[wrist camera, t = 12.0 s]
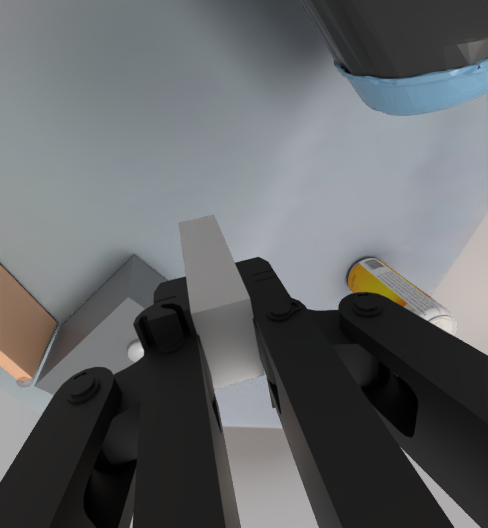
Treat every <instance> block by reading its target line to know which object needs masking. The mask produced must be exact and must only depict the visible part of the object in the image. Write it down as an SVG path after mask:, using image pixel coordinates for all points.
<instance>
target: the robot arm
mask: <svg viewBox="0 0 488 528" xmlns="http://www.w3.org/2000/svg"><path fill="white" fill-rule="evenodd" d="M300 2H301V4H302V5H303V7H304V9H305V11H306V12H307V14H308V16H309V17H310V19H311V21H312V22H313V24H314V26H315V28H316V29H317V31H318V33H319V34H320V36H321V38H322V39H323V41H324V43H325V45H326V46H327V48H328V50H329V51H330V53H331V55H332V56H333V58H334V65H335V67H336V68H337V70H338V71H339V72H340V73H341V74H342V75H343V76H345V77H346V78H347V79H348V80H349V82H350V83H351V85H352V86H353V88H354V89H355V91H356V92H357V94H358V95H359V97H360V98H361V99H362V101H363V102H364V103H365V104H366V105H367V106H368V107H370V108H371V109H373V110H376V111H381V112H383V113H386V114H388V115H396V116H409V115H419V114H425V113H430V112H435V111H439V110H442V109H446V108H449V107H453V106H456V105H459V104H461V103H464V102H467V101H469V100H472V99H474V98H477V97H479V96H481V95H483V94H486V93H488V0H300ZM179 228H180V236H181V243H182V251H183V258H184V266H185V273H186V277H182V278H178V279H174V280H170V281H166V282H162V283H160V284H159V285H158V287H157V288H156V290H155V291H154V300H153V302H154V303H153V305H151V306H149V307H148V308H146V309H145V310H143V311H142V312H141V313H140V314H139V315H138V316H137V317H136V318H135V321H134V323H133V326H134V328H135V331H136V333H137V335H138V338H139V340H140V343H141V345H142V347H143V350H144V356H143V357H142V358H140V359H139V360H138V361H137V362H135V363H134V364H132V365H130V366H129V367H127V368H125V369H123V370H121V371H119V372H117V373H116V374H114V375H113V373H112V371H111V370H109V369H107V368H106V367H93V368H89V369H85V370H83V371H81V372H79V373H77V374H75V375H73V376H72V377H71V378H69V379H68V380H67V381H65V382H64V383H63V384H62V385H61V387H60V388H59V389H58V390H57V392H56V393H55V395H54V396H53V398H52V399H51V401H50V403H49V404H48V406H47V408H46V409H45V411H44V412H43V414H42V416H41V417H40V419H39V420H38V422H37V424H36V425H35V427H34V429H33V430H32V432H31V433H30V435H29V437H28V438H27V440H26V442H25V443H24V445H23V447H22V448H21V450H20V451H19V453H18V455H17V456H16V458H15V460H14V461H13V463H12V464H11V466H10V468H9V469H8V471H7V472H6V474H5V476H4V477H3V479H2V480H1V482H0V528H129V527H130V523H131V520H132V516H133V528H241V525H240V520H239V515H238V510H237V505H236V498H235V493H234V488H233V482H232V477H231V472H230V466H229V461H228V455H227V450H226V445H225V440H224V434H223V429H222V423H221V418H220V412H219V407H218V403H217V400H216V397H215V393H214V390H215V389H219V388H222V387H225V386H229V385H232V384H236V383H239V382H242V381H246V380H249V379H252V378H256V377H259V376H262V375H265V374H264V370H265V373H266V376H267V381H268V386H269V391H270V397H271V402H272V407H273V408H275V407H276V410H277V413H278V416H279V418H280V421H281V424H282V427H283V429H284V432H285V435H286V437H287V440H288V443H289V446H290V448H291V451H292V454H293V457H294V460H295V462H296V465H297V468H298V471H299V474H300V476H301V479H302V482H303V485H304V488H305V490H306V493H307V496H308V499H309V501H310V504H311V507H312V510H313V512H314V515H315V518H316V521H317V524H318V526H319V528H454V526H453V525H452V524H451V522H450V520H449V519H448V517H447V516H446V514H445V513H444V511H443V510H442V509H441V507H440V506H439V504H438V503H437V501H436V500H435V498H434V497H433V495H432V494H431V492H430V491H429V489H428V488H427V486H426V485H425V483H424V482H423V480H422V479H421V477H420V476H419V474H418V473H417V471H416V470H415V468H414V467H413V465H412V464H411V463H410V461H409V460H408V458H407V457H406V455H405V454H404V452H403V451H402V449H403V450H404V451H405V452H406V453H407V454H408V455H409V456H410V457H411V458H412V459H413V460H414V461H415V462H416V463H417V464H418V465H419V466H420V467H421V468H422V469H423V470H424V471H425V472H426V473H427V474H428V475H429V476H430V477H431V478H432V479H433V480H434V481H435V482H436V483H437V484H438V485H439V486H440V487H441V488H442V489H443V490H444V491H445V492H446V493H447V494H448V495H449V496H450V497H451V498H452V499H453V500H454V501H455V502H456V503H457V504H458V505H459V506H460V507H461V508H462V509H463V510H464V511H465V512H466V513H467V514H468V515H469V516H470V517H471V518H472V519H473V520H474V521H475V522H476V523H477V524H478V525H479V526H480V527H481V528H488V355H486V354H484V353H482V352H480V351H479V350H477V349H475V348H474V347H472V346H470V345H469V344H467V343H465V342H463V341H462V340H460V339H458V338H456V337H455V336H453V335H451V334H449V333H448V332H446V331H444V330H443V329H441V328H439V327H437V326H436V325H434V324H432V323H430V322H429V321H427V320H425V319H424V318H422V317H420V316H418V315H417V314H415V313H413V312H411V311H410V310H408V309H406V308H405V307H403V306H401V305H399V304H398V303H396V302H394V301H392V300H391V299H389V298H387V297H385V296H383V295H380V294H378V293H371V292H357V293H353V294H350V295H347V296H346V297H345V298H343V299H342V300H341V302H340V304H339V310H326V311H315V310H309V309H307V308H306V307H305V305H304V304H302V303H301V302H300V301H298V300H296V299H293V298H291V297H290V295H289V294H288V292H287V290H286V289H285V287H284V286H283V284H282V283H281V281H280V279H279V278H278V277H277V275H276V273H275V272H274V271H273V268H272V267H271V265H270V264H269V262H268V261H266V260H264V259H262V258H260V257H256V258H252V259H248V260H244V261H240V262H236V263H235V262H234V260H233V258H232V256H231V253H230V251H229V249H228V246H227V244H226V242H225V239H224V237H223V235H222V233H221V230H220V228H219V226H218V223H217V221H216V219H215V216H214V215H211V216H207V217H202V218H198V219H194V220H190V221H186V222H181V223H179ZM263 368H264V369H263ZM400 447H401V448H402V449H401V448H400ZM133 512H134V513H133Z"/></svg>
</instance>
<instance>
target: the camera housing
mask: <svg viewBox="0 0 488 528" xmlns="http://www.w3.org/2000/svg"><path fill="white" fill-rule="evenodd" d="M166 281H168V280H167V279H166V278H164V277H163V276H162V275H161V274H159V273H158V272H157V271H155V270H154V269H153V268H152V267H150V266H149V265H148V264H146V263H145V262H144V261H143V260H141V259H140V258H139V257H137V256H136V255H135V254H134V255H133V256H132V257H131V258H130V259H129V260H128V261H127V262H126V263H125V264H124V265H123V266H122V267H121V268H120V269H119V270H118V271H117V272H116V273H115V274H114V275H113V276H112V277H111V278H110V279H109V280H108V281H107V282H106V283H105V284H104V285H103V286H102V287H101V288H100V289H99V290H98V291H96V292H95V293H94V294H93V295H92V296H91V297H90V298H89V299H88V300H87V301H86V302H85V303H84V304H83V305H82V306H81V307H80V308H79V309H78V310H77V311H76V312H75V313H74V314H73V315H72V316H71V317H70V318H69V319H68V320H67V321H66V322H65V323H64V324H63V325H62V326H61V327H60V328H59V330H58V333H57V335H56V337H55V340H54V342H53V344H52V347H51V349H50V351H49V354H48V356H47V358H46V361H45V363H44V365H43V368H42V370H41V372H40V375H39V377H38V379H37V382H36V384H35V386H36V387H38V388H40V389H42V390H44V391H46V392H49V393H51V394H53V395H55V393H56V392H57V390H58V389H59V388H60V387H61V385H62V384H63V383H64V382H65V381H67V380H68V379H69V378H71V377H72V376H73V375H75V374H77V373H79V372H81V371H83V370H85V369H89V368H93V367H106V368H107V369H109V370H111V371H112V373H113V375H114V374H116V373H117V372H119V371H121V370H123V369H125V368H127V367H129V366H130V365H132V364H134V363H135V362H137V361H138V360H139V359H140V358H142V357H143V356H144V350H143V347H142V345H141V343H140V340H139V338H138V335H137V333H136V331H135V328H134V326H133V323H134V321H135V318H136V317H137V316H138V315H139V314H140V313H141V312H142V311H143V310H145V309H146V308H148V307H149V306H151V305H153V303H154V302H153V300H154V291H155V290H156V288H157V287H158V285H159V284H160V283H162V282H166Z"/></svg>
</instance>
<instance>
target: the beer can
mask: <svg viewBox="0 0 488 528" xmlns="http://www.w3.org/2000/svg"><path fill="white" fill-rule="evenodd" d="M348 285H349V288H350V289H351V291H352V292H353V293H357V292H371V293H378V294H380V295H383V296H385V297H387V298H389V299H391V300H392V301H394V302H396V303H398V304H399V305H401V306H403V307H405V308H406V309H408V310H410V311H411V312H413V313H415V314H417V315H418V316H420V317H422V318H424V319H425V320H427V321H429V322H430V323H432V324H434V325H436V326H437V327H439V328H441V329H443V330H444V331H446V332H448V333H449V334H451V335H453V336H455V334H456V331H457V323H456V321H455V320H454V319H453V317H452V314H451V313H450V311H449V310H447V309H446V308H445V307H443V306H442V305H441V304H439V303H438V302H436V301H435V300H434V299H432V298H431V297H430V296H428V295H427V294H426V293H424V292H423V291H421V290H420V289H419V288H417V287H416V286H415V285H413V284H412V283H410V282H409V281H408V280H406V279H405V278H404V277H402V276H401V275H400V274H398V273H397V272H395V271H394V270H393V269H391V268H390V267H389V266H387V265H386V264H385V263H383V262H382V261H380V260H379V259H376V258H368V259H364V260H361V261H359V262H358V263H356V264H355V265H354V266H353V267H352V269H351V271H350V273H349V277H348Z"/></svg>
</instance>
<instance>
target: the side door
mask: <svg viewBox="0 0 488 528" xmlns="http://www.w3.org/2000/svg"><path fill="white" fill-rule="evenodd" d="M56 324H57V322H56V321H55V320H54V319H53V318H52V317H51V316H50V315H49V314H48V313H47V312H46V311H45V310H44V309H43V308H42V307H41V306H40V305H39V304H38V303H37V302H36V301H35V300H34V299H33V297H32V296H31V295H30V294H29V293H28V292H27V291H26V290H25V289H24V288H23V287H22V286H21V285H20V284H19V283H18V282H17V281H16V280H15V279H14V278H13V277H12V276H11V275H10V274H9V273H8V272H7V271H6V270H5V269H4V268H3V267H2V266H1V265H0V366H1V367H3V368H4V369H5V370H6V371H7V372H9V373H10V374H11V375H12V376H13V377H15V378H16V379H17V381H16V383H17V385H19V386H20V387H29V386H30V385H31V384H32V382H33V380H34V378H35V375H36V373H37V371H38V369H39V366H40V364H41V362H42V360H43V357H44V355H45V353H46V351H47V348H48V346H49V344H50V342H51V339H52V337H53V335H54V333H55V330H56V328H57V325H56Z"/></svg>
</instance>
